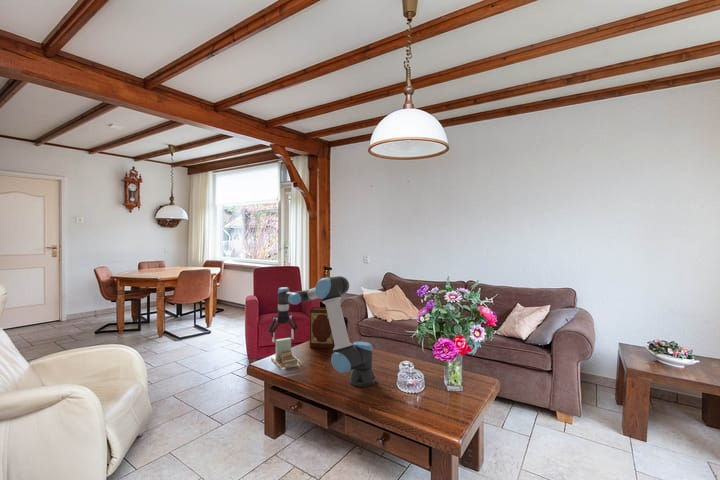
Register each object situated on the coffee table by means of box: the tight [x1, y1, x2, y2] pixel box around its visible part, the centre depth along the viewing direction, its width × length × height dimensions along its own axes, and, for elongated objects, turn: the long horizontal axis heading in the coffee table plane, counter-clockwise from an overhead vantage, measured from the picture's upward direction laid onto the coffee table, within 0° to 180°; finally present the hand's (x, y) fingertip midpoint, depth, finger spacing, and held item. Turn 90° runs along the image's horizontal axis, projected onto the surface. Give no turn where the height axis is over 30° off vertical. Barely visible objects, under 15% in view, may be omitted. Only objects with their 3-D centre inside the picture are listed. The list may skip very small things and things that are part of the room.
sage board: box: [275, 337, 292, 361], centre depth 234 cm, size 3×10×14 cm, turn 121°
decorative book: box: [309, 306, 335, 349], centre depth 265 cm, size 22×8×30 cm, turn 84°
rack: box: [270, 353, 303, 370], centre depth 229 cm, size 20×15×7 cm
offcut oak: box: [280, 350, 293, 358], centre depth 229 cm, size 4×7×3 cm
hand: (283, 340), depth 234 cm, fingers open, 13 cm apart
